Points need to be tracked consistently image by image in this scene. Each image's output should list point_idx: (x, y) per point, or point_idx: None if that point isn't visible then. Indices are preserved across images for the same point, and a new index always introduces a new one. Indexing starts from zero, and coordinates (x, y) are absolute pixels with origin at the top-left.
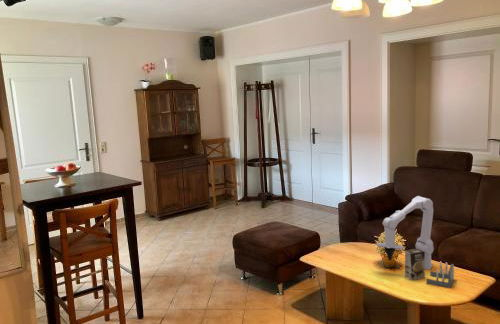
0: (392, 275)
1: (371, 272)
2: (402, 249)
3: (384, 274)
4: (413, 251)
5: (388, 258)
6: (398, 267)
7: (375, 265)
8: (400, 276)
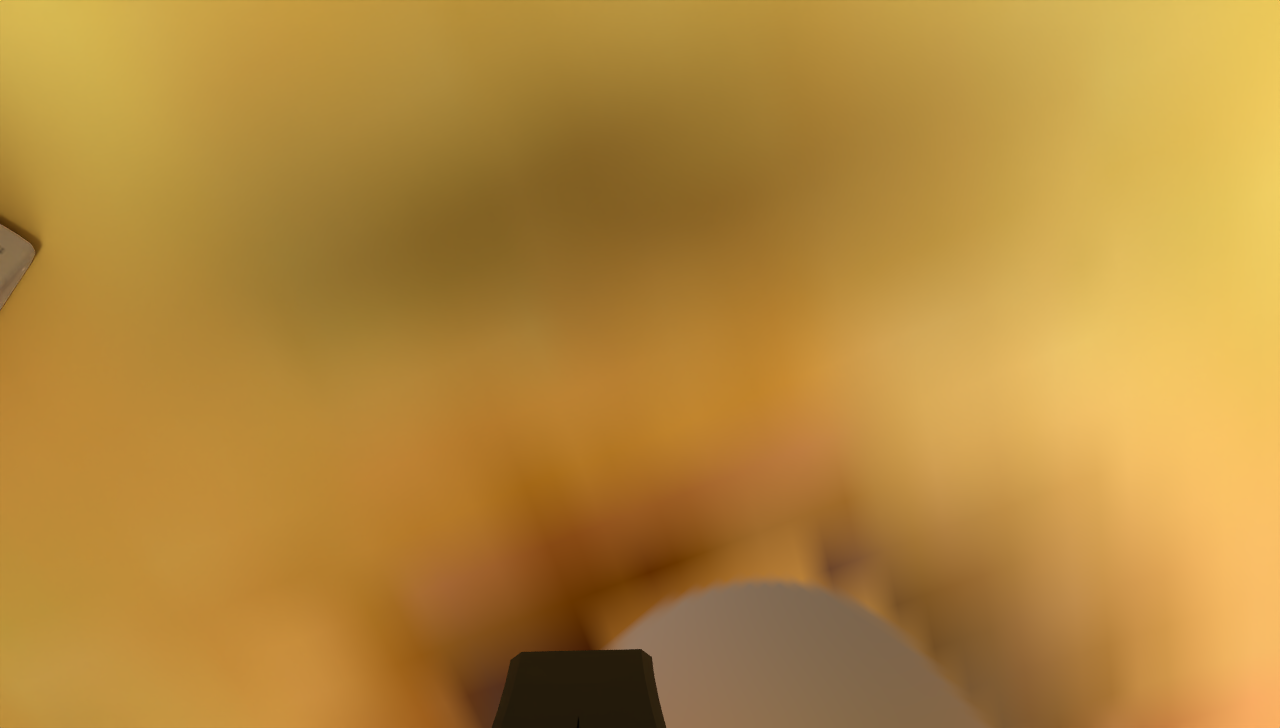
0: (455, 144)
1: (1256, 77)
2: None
3: (751, 106)
4: None
5: (647, 720)
6: None
7: (1128, 621)
8: (171, 180)
